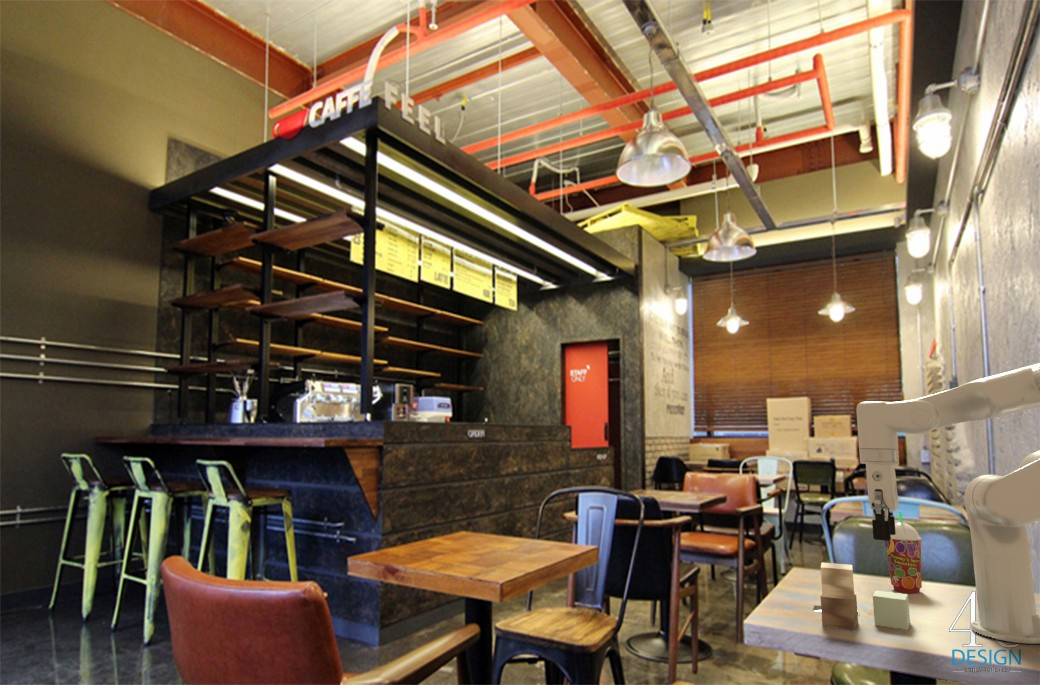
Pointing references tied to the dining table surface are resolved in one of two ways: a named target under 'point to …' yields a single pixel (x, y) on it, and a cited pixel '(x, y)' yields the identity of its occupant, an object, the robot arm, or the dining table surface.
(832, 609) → the tower base
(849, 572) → the tower top
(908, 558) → the smoothie
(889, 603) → the sage block
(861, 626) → the dining table surface
